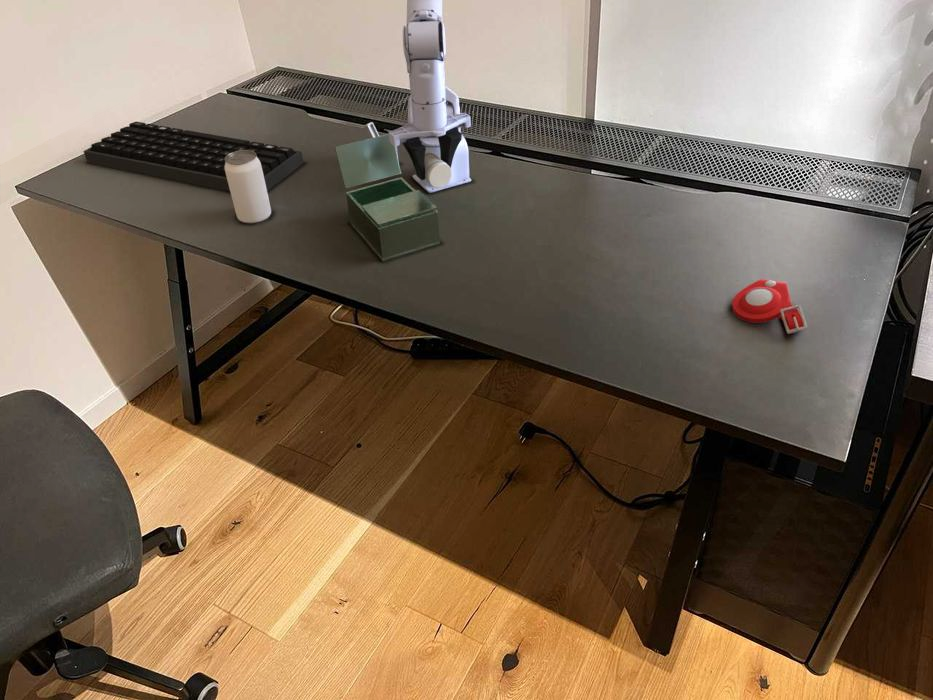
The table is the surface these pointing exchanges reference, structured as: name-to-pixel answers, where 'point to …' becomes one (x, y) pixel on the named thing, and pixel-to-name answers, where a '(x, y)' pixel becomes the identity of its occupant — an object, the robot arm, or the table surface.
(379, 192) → the green lidded box
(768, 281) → the tracker holder
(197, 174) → the computer keyboard
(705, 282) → the table surface
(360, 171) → the green flat panel
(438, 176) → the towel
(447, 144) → the robot arm
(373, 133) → the lighter
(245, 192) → the can
